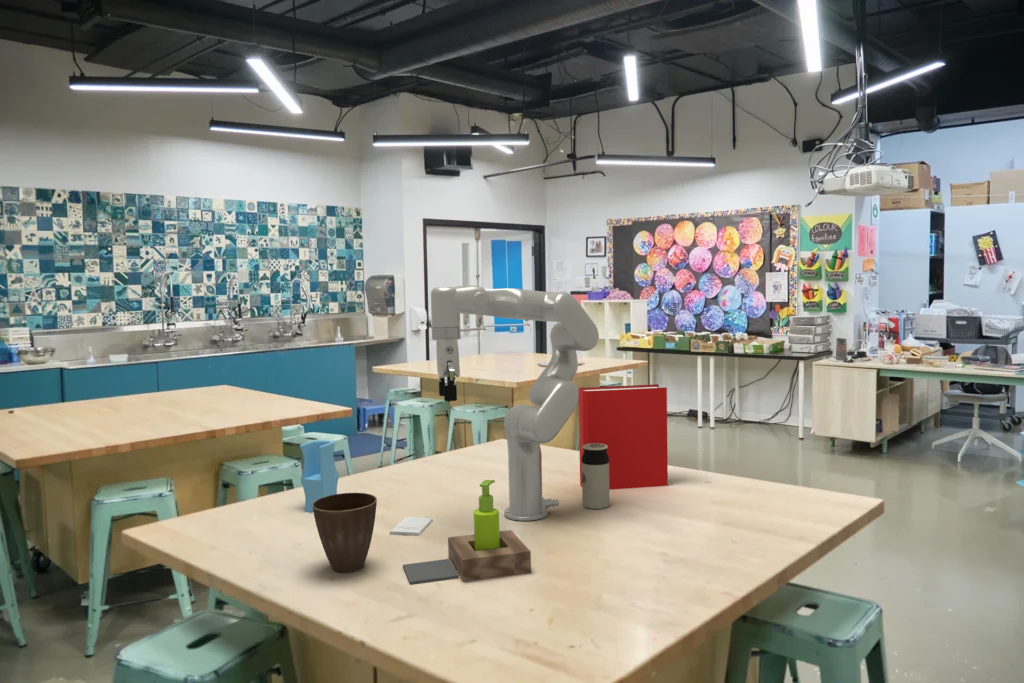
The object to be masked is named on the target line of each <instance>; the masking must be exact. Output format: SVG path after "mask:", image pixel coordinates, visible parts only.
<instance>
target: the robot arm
mask: <svg viewBox="0 0 1024 683" xmlns="http://www.w3.org/2000/svg"><path fill="white" fill-rule="evenodd" d="M430 306H431V308H430V310H431V312H430V313H431V316H430V317H431V340H432V341H436V344H435V347H436V368H437V369H436V370H437V374H438V375H439V376H438V377H439V378H438V395H439V397H443V400H444V402H456V401H457V400H458V399H457V398H458V396H457V395H458V394H457V392H458V391H457V388H458V387H457V379H456V378H459V377H460V376H461V368H460V367H461V366H460V354H459V353H460V352H459V342H458V340H461V314H464V315H478V316H486V317H488V316H489V317H496V318H501V319H508V320H509V319H511V320H521V321H522V320H524V321H534V322H535V321H538V322H550V323H551V322H552V323H553V322H556V323H554V325H553V326H552V328H551V330H550V334H549V335H550V343H551V351H552V352H551V353H552V354H551V358H550V361H549V362H548V363H547V365H546V366H545V367H544V369H543V371H542V372H541V373H540V375H539V376H538V377H537V379H536V380H535V381H534V382H533V384H532V386H531V387H530V389H529V392H528V399H529V402H530V403H532V404H531V405H532V406H531V405H527V404H516V405H514V406H512V407H510V408H509V409H508V410H507V412H506V414H505V416H504V421H503V426H504V427H503V428H504V434H505V437H506V442H507V455H508V458H507V460H508V463H507V464H508V466H507V467H508V494H509V495H508V496H509V498H508V499H509V504H508V505H509V506H508V507H506V509H504V510H503V512H504V513H503V515H504V517H505V518H507V519H509V520H512V521H519V522H526V521H527V522H529V521H530V522H531V521H537V520H541V519H544V518H546V517H548V515H549V510H548V509H549V508H550V507H558V506H560V501H559V499H552V498H544V497H543V469H542V467H543V466H542V461H543V458H542V456H543V455H542V449H541V444H547V443H550V442H551V441H553V440H554V439H555V437H556V436H557V435H558V434H559V433H560V431H561V430H562V428H563V427H564V426H565V424H566V423H567V421H568V420H569V418H571V416H572V414H573V413H574V411H575V410H576V408H577V407H578V406H577V405H579V391H578V387H577V385H576V384H575V383H574V381H573V379H574V378H575V377H576V375H577V371H578V369H579V368H578V366H579V363H578V355H577V353H578V352H588V351H591V350H593V349H595V347H596V346H597V345H598V342H599V339H600V333H599V330H598V329H599V328H597V326H596V324H595V322H594V321H593V319H592V318H591V317H590V315H589V314H588V313H587V311H586V309H584V307H583V306H582V304H580V302H579V301H578V300H577V299H576V298H575V297H574V296H573V295H572V294H570V293H568V292H565V291H560V292H559V291H542V290H541V291H540V290H533V289H531V290H530V289H522V288H514V287H513V288H509V287H508V288H484V287H482V286H479V285H459V286H439V287H434V288H433V289H432V290H431V291H430ZM577 351H578V352H577ZM533 405H534V406H533Z"/></svg>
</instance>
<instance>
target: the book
mask: <svg viewBox="0 0 1024 683" xmlns="http://www.w3.org/2000/svg"><path fill="white" fill-rule="evenodd" d="M577 388H578V387H577ZM578 391H579V400H578V433H579V434H578V435H579V436H578V439H579V448H578V449H579V486H580V488H582V455H583V453H584V449H583V447H582V446H583V445H585V444H591V443H599V444H605V445H607V446H608V448H607V454H608V456H609V491H610V490H624V489H639V488H640V489H641V488H653V487H668V485H669V482H668V480H669V478H668V476H669V475H668V474H669V473H668V469H669V468H668V467H669V466H668V388H667V387H659V383H656V384H636V385H635V384H633V385H615V386H614V385H611V386H608V385H607V386H590V387H587V386H586V387H579V388H578Z"/></svg>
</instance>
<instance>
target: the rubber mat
mask: <svg viewBox="0 0 1024 683" xmlns="http://www.w3.org/2000/svg"><path fill="white" fill-rule="evenodd" d="M402 568H403V571H404V573H405V576H406V578H407V582H408V583H409V585H415V584H424V583H430V582H431V583H433V582H439V581H446V580H455V579H459V574H458V573H457V571H456V569H455V568H454V566H453V564H452V562H451V561H450V559H449V558H446V559H436V560H430V561H429V560H428V561H420V562H413V563H405V564H402Z"/></svg>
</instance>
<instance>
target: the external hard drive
mask: <svg viewBox="0 0 1024 683" xmlns="http://www.w3.org/2000/svg"><path fill="white" fill-rule="evenodd" d="M433 520H434V519H433V518H432V517H421V516H420V517H418V516H405V517H404V518H403V519H402V520H400V521H399V523H398V524H397V525H395V526H394V527H393V528H392V529H391V530H390V532H389V535H391V536H413V537H419V536H421V535H422V533H423V532H424V531H425V530H426V529H427V528H428V527H429V526H430V525H431V524H432V523H433Z"/></svg>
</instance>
